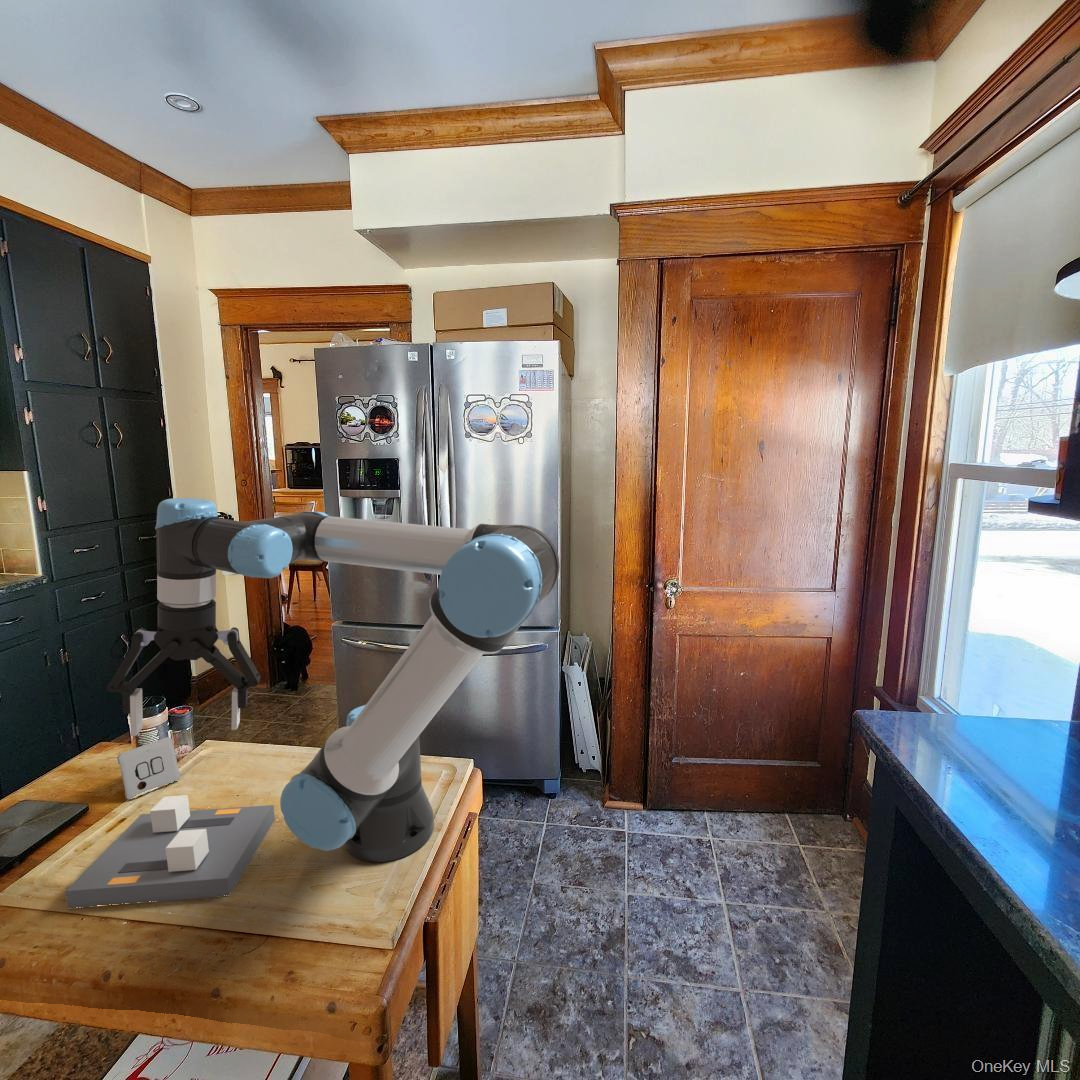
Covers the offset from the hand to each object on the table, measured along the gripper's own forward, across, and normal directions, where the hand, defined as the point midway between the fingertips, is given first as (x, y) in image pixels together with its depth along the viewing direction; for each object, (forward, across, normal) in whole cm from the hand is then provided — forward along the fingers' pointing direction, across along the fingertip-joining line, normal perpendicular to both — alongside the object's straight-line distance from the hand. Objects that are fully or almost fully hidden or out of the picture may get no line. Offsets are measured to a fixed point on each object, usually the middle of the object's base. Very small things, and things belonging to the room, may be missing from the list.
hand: (187, 728), depth 88 cm
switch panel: (+24, +1, 0) cm, 24 cm away
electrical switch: (+28, +13, -27) cm, 41 cm away
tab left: (+20, -1, +5) cm, 21 cm away
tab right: (+21, +4, -6) cm, 23 cm away
